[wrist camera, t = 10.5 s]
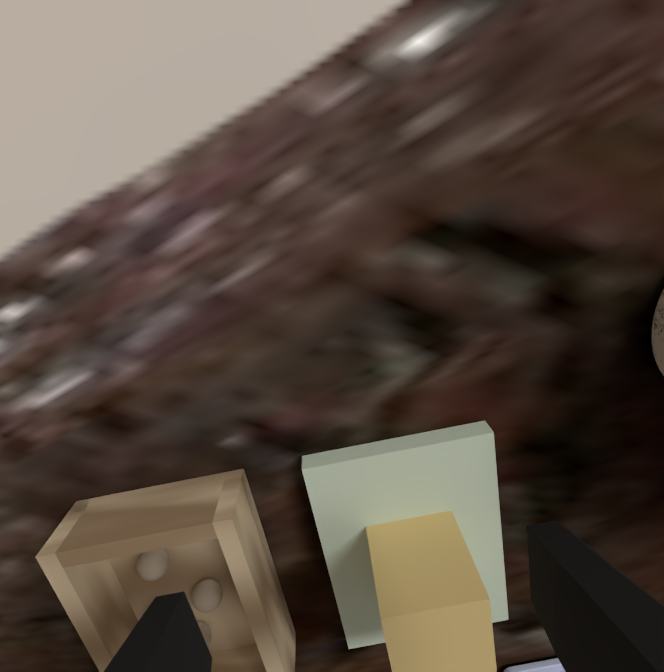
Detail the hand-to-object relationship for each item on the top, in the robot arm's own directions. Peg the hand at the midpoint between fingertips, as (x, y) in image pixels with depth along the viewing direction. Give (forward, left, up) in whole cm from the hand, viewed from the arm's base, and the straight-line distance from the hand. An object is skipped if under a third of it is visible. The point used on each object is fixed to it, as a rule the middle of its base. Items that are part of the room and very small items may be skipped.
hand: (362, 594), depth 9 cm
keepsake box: (-9, +9, -10) cm, 16 cm away
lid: (-9, -2, -10) cm, 14 cm away
